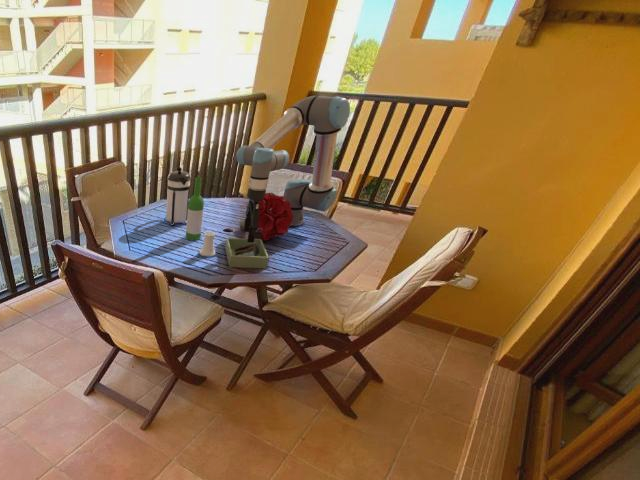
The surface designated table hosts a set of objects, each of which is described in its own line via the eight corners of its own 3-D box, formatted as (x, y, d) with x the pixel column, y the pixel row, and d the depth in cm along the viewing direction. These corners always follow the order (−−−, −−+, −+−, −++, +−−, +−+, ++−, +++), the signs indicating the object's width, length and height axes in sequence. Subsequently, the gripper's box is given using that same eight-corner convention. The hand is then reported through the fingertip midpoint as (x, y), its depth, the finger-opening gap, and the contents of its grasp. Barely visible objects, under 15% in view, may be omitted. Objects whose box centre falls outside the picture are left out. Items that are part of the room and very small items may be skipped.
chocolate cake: (229, 258, 183) (249, 246, 174) (232, 249, 187) (252, 236, 178) (242, 271, 186) (263, 259, 177) (245, 261, 190) (265, 250, 181)
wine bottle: (188, 234, 209) (193, 175, 191) (202, 236, 205) (208, 177, 188) (183, 239, 203) (187, 179, 186) (197, 241, 200) (203, 181, 182)
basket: (225, 248, 193) (226, 237, 190) (259, 249, 191) (261, 239, 188) (229, 266, 175) (230, 256, 172) (266, 268, 174) (269, 257, 171)
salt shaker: (211, 257, 183) (214, 237, 177) (196, 254, 186) (198, 234, 180) (217, 252, 188) (220, 232, 182) (203, 249, 192) (205, 229, 186)
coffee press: (194, 220, 226) (199, 165, 209) (182, 228, 215) (186, 171, 198) (167, 215, 234) (170, 162, 216) (155, 223, 223) (156, 167, 205)
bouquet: (230, 248, 209) (275, 236, 183) (223, 204, 206) (267, 185, 179) (259, 243, 219) (305, 231, 192) (252, 200, 216) (298, 182, 189)
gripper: (244, 180, 175) (237, 226, 188) (252, 196, 155) (243, 246, 167) (261, 181, 174) (252, 227, 187) (271, 196, 154) (261, 247, 167)
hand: (248, 236), depth 177 cm, fingers open, 13 cm apart
